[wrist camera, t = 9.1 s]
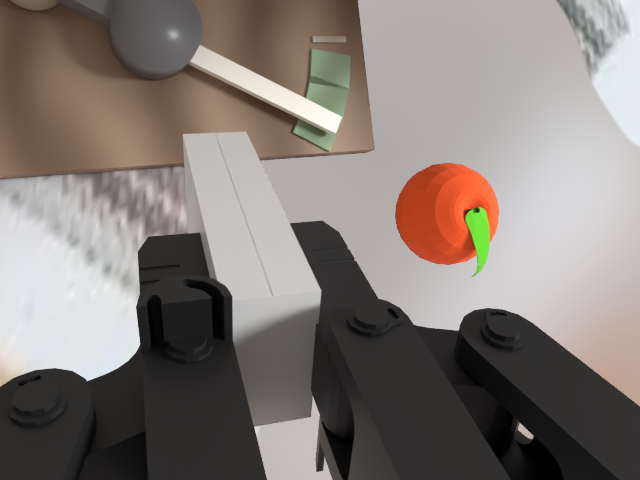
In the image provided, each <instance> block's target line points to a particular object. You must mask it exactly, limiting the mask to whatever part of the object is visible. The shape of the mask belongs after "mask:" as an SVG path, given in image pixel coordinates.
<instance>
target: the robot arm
mask: <svg viewBox="0 0 640 480" xmlns="http://www.w3.org/2000/svg"><path fill="white" fill-rule="evenodd" d="M183 149H184V168H185V186H186V205H187V223H188V234H177V235H164V236H152V237H148V238H147V239H146V241H145V242H144V244H143V245H142V247H141V248H140V250H139V251H138V263H139V282H140V296H139V299H138V303H137V306H136V309H137V318H138V327H139V335H140V346H139V348H138V350H137V352H136V353H135V354H134V356H133V357H132V358H131V359H130V360H129V361H128V362H126V363H125V364H124V365H122V366H121V367H119V368H118V369H116V370H114V371H112V372H110V373H107V374H105V375H103V376H100V377H98V378H95V379H92V380H90V381H86V379H85V378H83V377H81V376H80V375H78V374H76V373H75V372H73V371H68V370H62V369H56V368H53V369H44V370H35V371H32V372H29V373H26V374H23V375H21V376H18V377H15V378H13V379H12V380H10V381H9V382H7V383H6V384H4V385H2V386H1V387H0V480H267V478H266V474H265V470H264V466H263V462H262V458H261V454H260V450H259V446H258V441H257V437H256V433H255V429H254V427H255V426H260V425H266V424H272V423H278V422H284V421H289V420H295V419H301V418H307V417H311V409H312V397H314V400H315V402H316V405H317V408H318V411H319V413H320V420H319V430H318V441H317V452H316V470H317V472H318V471H323V465H324V456H325V459H326V462H327V465H328V468H329V470H330V474H331V476H332V479H333V480H640V407H639V406H638V405H637V404H636V403H635V402H633V401H632V400H631V399H629V398H628V397H627V396H626V395H624V394H623V393H622V392H620V391H619V390H618V389H617V388H615V387H614V386H613V385H611V384H610V383H609V382H607V381H606V380H605V379H603V378H602V377H601V376H600V375H598V374H597V373H596V372H594V371H593V370H592V369H591V368H589V367H588V366H587V365H586V364H584V363H583V362H582V361H580V360H579V359H578V358H577V357H575V356H574V355H573V354H571V353H570V352H569V351H567V350H566V349H565V348H564V347H562V346H561V345H560V344H558V343H557V342H556V341H555V340H553V339H552V338H551V337H550V336H548V335H547V334H546V333H544V332H543V331H542V330H541V329H539V328H538V327H537V326H535V325H534V324H533V323H531V322H530V321H528V320H526V319H525V318H523V317H521V316H519V315H518V314H514V313H511V312H508V311H505V310H501V309H490V308H486V309H480V310H474V311H472V312H471V313H469V314H467V315H466V316H464V318H463V320H462V322H461V324H460V328H459V331H453V330H443V329H434V328H426V327H420V326H416V325H413V323H412V322H411V320H410V319H409V317H408V316H407V315H406V314H405V313H404V312H403V311H402V310H401V309H400V308H399V307H397V306H395V305H393V304H391V303H390V302H388V301H385V300H381V299H378V297H377V296H376V294H375V292H374V291H373V289H372V287H371V286H370V284H369V282H368V281H367V279H366V277H365V276H364V274H363V272H362V271H361V269H360V267H359V265H358V264H357V262H356V261H354V257H353V255H352V254H351V252H350V250H349V249H347V245H346V244H345V242H344V240H343V238H342V237H341V235H340V233H339V232H338V231H336V230H335V229H333V228H332V227H330V226H329V225H328V224H326V223H325V222H323V221H314V222H301V223H289V221H288V219H287V217H286V215H285V213H284V211H283V208H282V206H281V204H280V202H279V200H278V198H277V196H276V194H275V191H274V189H273V187H272V185H271V183H270V181H269V179H268V177H267V175H266V172H265V170H264V168H263V166H262V164H261V162H260V160H259V157H258V155H257V153H256V151H255V149H254V147H253V145H252V143H251V140H250V138H249V136H248V134H247V132H222V133H197V134H183ZM519 423H521V424H522V425H523V426H524V427H525V428H526V429H527V430H528V431H529V432H530V433H531V434H533V436H534V437H533V439H529V438H527V437H525V436H524V435H523V434H522V433H521V432H519V431H518V430H517V429H518V426H519Z"/></svg>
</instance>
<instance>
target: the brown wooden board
mask: <svg viewBox="0 0 640 480" xmlns="http://www.w3.org/2000/svg"><path fill="white" fill-rule="evenodd" d="M192 1H193V2H194V4H195V5H196V7H197V9H198V11H199V14H200V17H201V21H202V38H201V42H200V45H201V46H203V47H205V48H207V49H209V50H211V51H213V52H215V53H217V54H219V55H221V56H223V57H225V58H227V59H229V60H231V61H233V62H235V63H237V64H239V65H241V66H243V67H245V68H247V69H249V70H250V71H252V72H254V73H256V74H258V75H260V76H262V77H264V78H266V79H268V80H270V81H272V82H274V83H276V84H278V85H280V86H282V87H284V88H286V89H288V90H290V91H292V92H294V93H296V94H298V95H300V96H302V97H304V98H306V99H308V100H310V101H312V102H314V103H316V104H318V105H320V106H322V107H324V108H325V109H327V110H329V111H331V112H333V113H335V114H337V115H339V116H341V117H342V118H341V121H340V124H339V127H338V129H337V132H336V134H334V135H331V134H329V133H327V132H325V131H323V130H321V129H319V128H317V127H315V126H313V125H311V124H309V123H307V122H305V121H303V120H301V119H299V118H296V117H294V116H292V115H290V114H288V113H286V112H284V111H282V110H280V109H278V108H276V107H274V106H272V105H270V104H268V103H266V102H264V101H262V100H260V99H258V98H256V97H254V96H252V95H250V94H248V93H246V92H244V91H242V90H240V89H238V88H236V87H233V86H231V85H229V84H227V83H225V82H223V81H221V80H219V79H217V78H215V77H213V76H211V75H209V74H207V73H205V72H203V71H201V70H199V69H197V68H195V67H193V66H191V65H188V66H187V67H186V68H185V69H184V70H183V71H182V72H181V73H179V74H178V75H176V76H174V77H171V78H168V79H163V80H151V79H146V78H143V77H140V76H138V75H136V74H134V73H132V72H131V71H129V70H128V69H126V68H125V67H124V66H123V65H122V64H121V63H120V61H119V60H118V59H117V57H116V56H115V54H114V52H113V50H112V47H111V44H110V40H109V27H108V26H106V25H104V24H102V23H100V22H98V21H96V20H94V19H92V18H90V17H87V16H85V15H83V14H81V13H79V12H77V11H75V10H73V9H71V8H69V7H67V6H65V5H63V4H61V3H58V4H57V5H56V6H54V7H52V8H49V9H46V10H39V11H36V10H28V9H25V8H22V7H20V6H18V5H16V4H15V3H13V2H12V1H10V0H0V179H8V178H22V177H36V176H50V175H64V174H78V173H92V172H106V171H119V170H133V169H147V168H161V167H175V166H184V149H183V134H197V133H222V132H247V134H248V136H249V138H250V140H251V143H252V145H253V147H254V149H255V151H256V153H257V155H258V157H259V160H272V159H286V158H300V157H314V156H328V155H342V154H355V153H366V152H369V151H372V150H374V140H373V132H372V123H371V114H370V105H369V97H368V88H367V79H366V70H365V61H364V53H363V44H362V36H361V26H360V18H359V9H358V0H192Z"/></svg>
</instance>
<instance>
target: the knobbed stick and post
mask: <svg viewBox="0 0 640 480" xmlns="http://www.w3.org/2000/svg"><path fill="white" fill-rule="evenodd" d="M10 1H12V2H13V3H15V4H16V5H18V6H20V7H22V8H25V9H28V10H36V11H39V10H46V9H49V8H52V7H54V6H56V5H57V4H58V3H61V4H63V5H65V6H67V7H69V8H71V9H73V10H75V11H77V12H79V13H81V14H83V15H85V16H87V17H90V18H92V19H94V20H96V21H98V22H100V23H102V24H104V25H106V26H108V27H109V40H110V44H111V47H112V50H113V52H114V54H115V56H116V57H117V59H118V60H119V61H120V63H121V64H122V65H123V66H124V67H125V68H126V69H128V70H129V71H131V72H132V73H134V74H136V75H138V76H140V77H143V78H146V79H151V80H163V79H168V78H171V77H174V76H176V75H178V74H179V73H181V72H182V71H183V70H184V69H185V68H186V67H187V66H188V65H191V66H193V67H195V68H197V69H199V70H201V71H203V72H205V73H207V74H209V75H211V76H213V77H215V78H217V79H219V80H221V81H223V82H225V83H227V84H229V85H231V86H233V87H236V88H238V89H240V90H242V91H244V92H246V93H248V94H250V95H252V96H254V97H256V98H258V99H260V100H262V101H264V102H266V103H268V104H270V105H272V106H274V107H276V108H278V109H280V110H282V111H284V112H286V113H288V114H290V115H292V116H294V117H296V118H299V119H301V120H303V121H305V122H307V123H309V124H311V125H313V126H315V127H317V128H319V129H321V130H323V131H325V132H327V133H329V134H331V135H334V134H336V132H337V129H338V127H339V124H340V121H341V118H342V117H341V116H339V115H337V114H335V113H333V112H331V111H329V110H327V109H325V108H324V107H322V106H320V105H318V104H316V103H314V102H312V101H310V100H308V99H306V98H304V97H302V96H300V95H298V94H296V93H294V92H292V91H290V90H288V89H286V88H284V87H282V86H280V85H278V84H276V83H274V82H272V81H270V80H268V79H266V78H264V77H262V76H260V75H258V74H256V73H254V72H252V71H250V70H249V69H247V68H245V67H243V66H241V65H239V64H237V63H235V62H233V61H231V60H229V59H227V58H225V57H223V56H221V55H219V54H217V53H215V52H213V51H211V50H209V49H207V48H205V47H203V46H201V45H200V42H201V38H202V21H201V17H200V14H199V11H198V9H197V7H196V5H195V4H194V2H193V1H192V0H10Z"/></svg>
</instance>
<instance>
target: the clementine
mask: <svg viewBox="0 0 640 480" xmlns="http://www.w3.org/2000/svg"><path fill="white" fill-rule="evenodd" d="M498 216H499V209H498V203H497V199H496V196H495V194H494V191H493V189H492V187H491V186H490V185H489V183H488V182H487V180H486V179H485V178H484V177H482V176H481V175H480V174H479V173H478V172H476V171H474V170H472V169H470V168H467V167H465V166H463V165H459V164H452V163H444V164H437V165H432V166H430V167H428V168H426V169H424V170H422V171H420V172H418V173H416V174H415V175H414V176H413V177H412V178H411V179H410V180H409V181H408V182H407V183H406V185H405V187H404V188H403V190H402V192H401V193H400V195H399V198H398V201H397V205H396V215H395V217H396V224H397V228H398V231H399V233H400V236H401V238H402V239H403V241H404V242H405V244H406V245H407V246H408V247H409V249H410V250H411V251H412V252H414V253H415V254H416V255H418V256H419V257H420V258H423V259H425V260H427V261H430V262H433V263H436V264H446V265H450V264H455V263H460V262H464V261H468V260H469V259H471V258H473V257H474V256H476V255H477V259H478V260H477V261H478V267H477V272H476V273H475V274H474V275H473V276H475V275H476V274H477V273H479V272H480V271H481V269H482V268H483V266H484V264H485V262H486V259H487V255H488V250H489V243H490V242H491V240H492V238H493V236H494V234H495V232H496V228H497V225H498Z"/></svg>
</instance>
